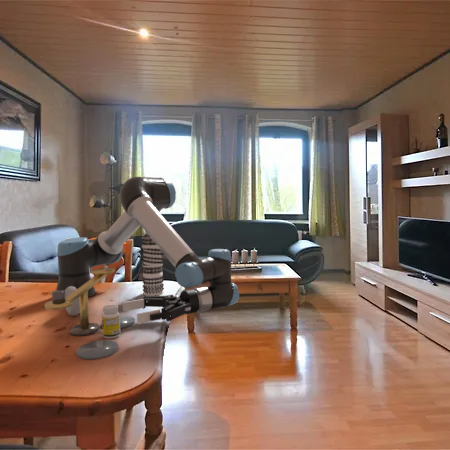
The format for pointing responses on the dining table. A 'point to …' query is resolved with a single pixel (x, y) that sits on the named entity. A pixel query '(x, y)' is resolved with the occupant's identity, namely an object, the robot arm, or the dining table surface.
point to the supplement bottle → (111, 321)
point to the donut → (75, 307)
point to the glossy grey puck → (125, 321)
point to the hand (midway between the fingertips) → (129, 312)
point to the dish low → (97, 349)
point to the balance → (82, 294)
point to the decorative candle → (152, 267)
